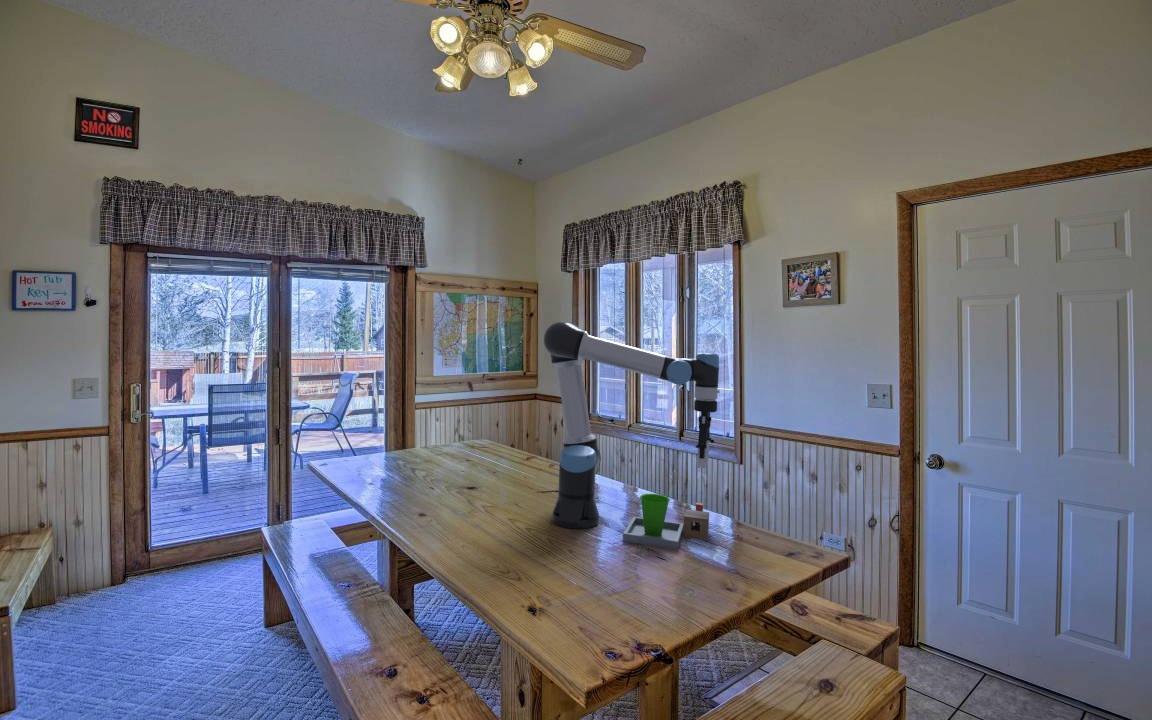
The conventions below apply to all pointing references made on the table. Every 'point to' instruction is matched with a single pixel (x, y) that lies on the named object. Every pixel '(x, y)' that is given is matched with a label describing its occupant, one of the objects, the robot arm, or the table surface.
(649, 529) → the cup
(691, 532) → the mount
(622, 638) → the table surface
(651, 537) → the tray
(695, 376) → the robot arm
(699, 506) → the pin
